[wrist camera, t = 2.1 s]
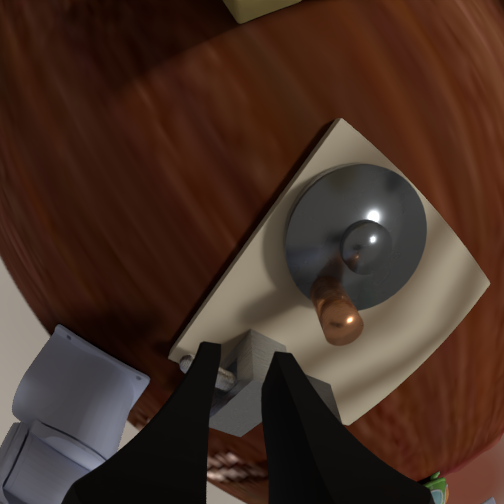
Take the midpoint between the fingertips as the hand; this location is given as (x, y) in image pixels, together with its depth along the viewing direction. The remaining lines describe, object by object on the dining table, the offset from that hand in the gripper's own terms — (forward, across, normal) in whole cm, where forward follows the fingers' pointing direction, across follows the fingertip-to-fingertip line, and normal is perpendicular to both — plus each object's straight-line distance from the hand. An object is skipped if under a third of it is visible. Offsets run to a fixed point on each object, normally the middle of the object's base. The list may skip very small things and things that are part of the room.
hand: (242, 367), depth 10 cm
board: (+9, -9, +3) cm, 13 cm away
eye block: (+9, -2, +8) cm, 12 cm away
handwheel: (+8, -6, -3) cm, 11 cm away
